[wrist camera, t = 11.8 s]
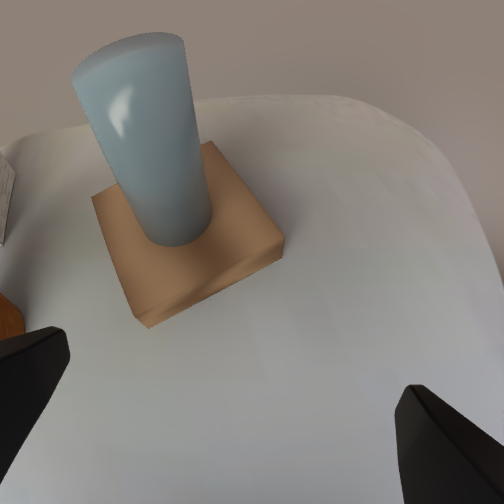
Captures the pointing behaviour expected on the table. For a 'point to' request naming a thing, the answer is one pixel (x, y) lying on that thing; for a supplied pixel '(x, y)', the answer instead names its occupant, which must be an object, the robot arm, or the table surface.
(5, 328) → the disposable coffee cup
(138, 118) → the slate canister
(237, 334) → the table surface
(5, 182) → the light bulb box
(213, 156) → the walnut base
